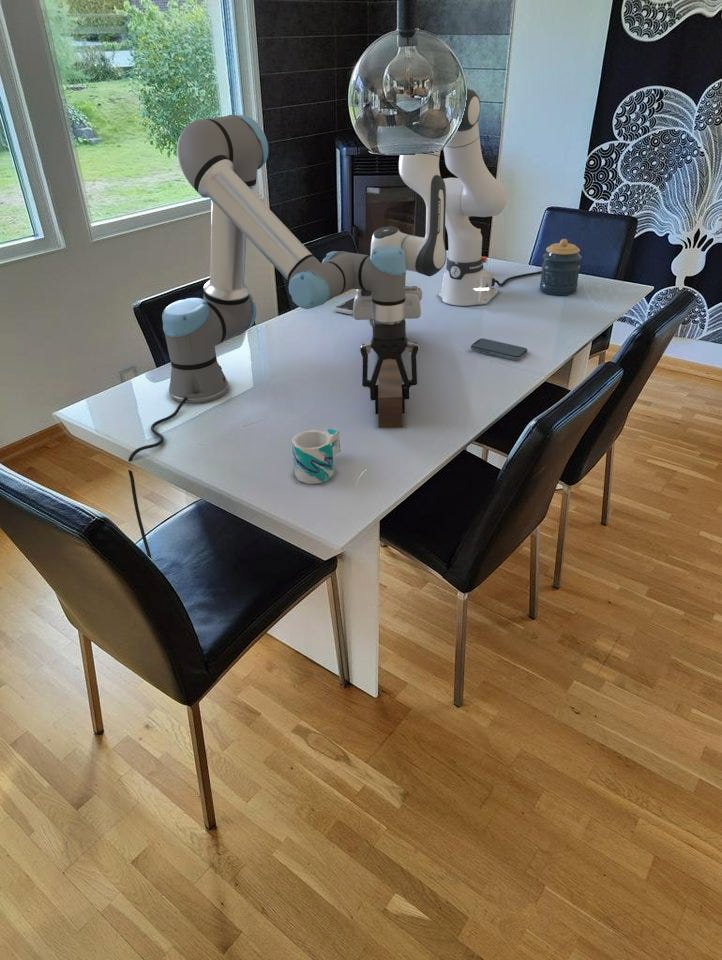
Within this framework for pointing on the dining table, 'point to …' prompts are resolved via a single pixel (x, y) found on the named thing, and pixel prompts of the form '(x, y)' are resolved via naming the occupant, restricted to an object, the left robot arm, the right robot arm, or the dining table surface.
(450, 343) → the dining table surface
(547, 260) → the canister
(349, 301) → the smartphone
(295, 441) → the mug
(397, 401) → the beam
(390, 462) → the dining table surface
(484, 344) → the smartphone
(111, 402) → the dining table surface
